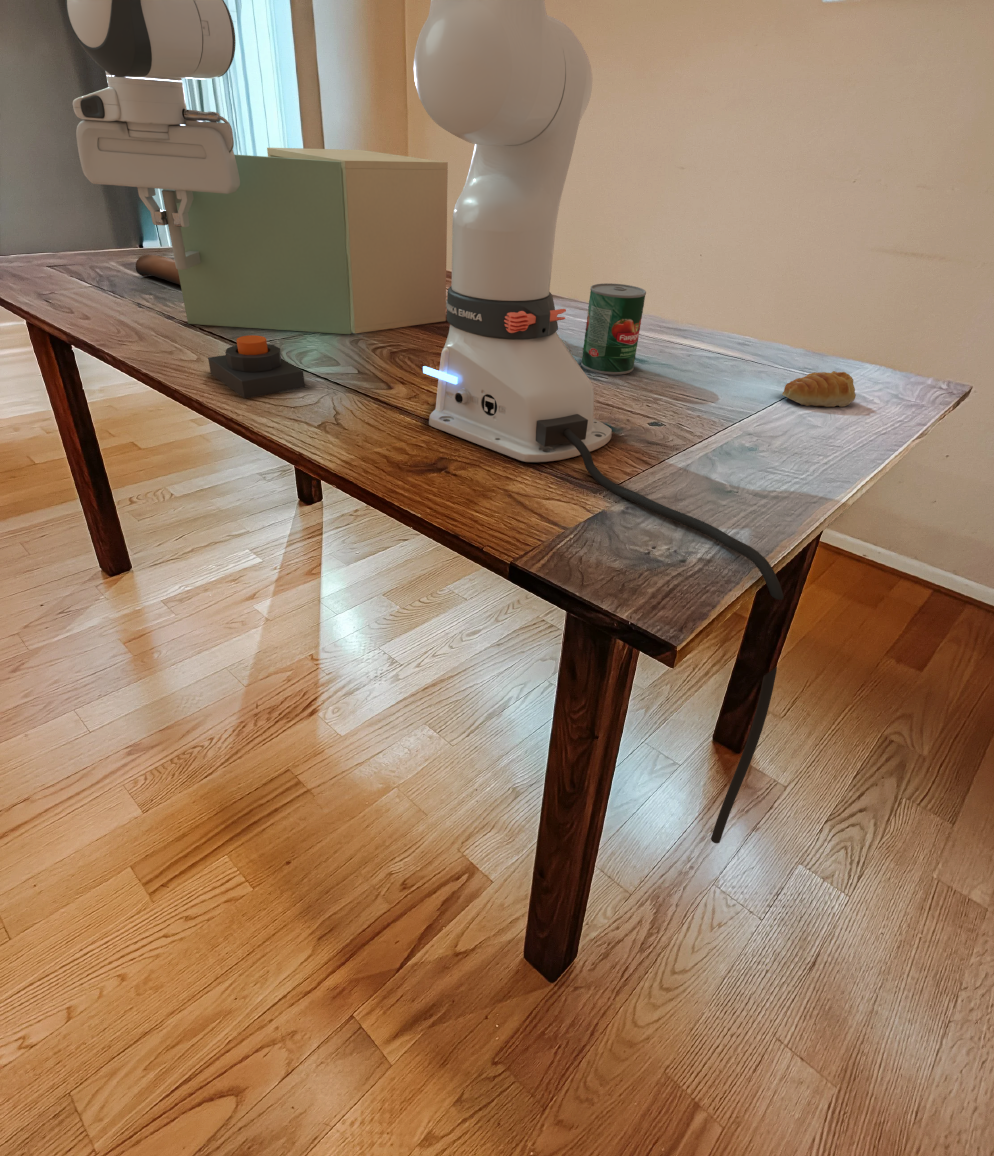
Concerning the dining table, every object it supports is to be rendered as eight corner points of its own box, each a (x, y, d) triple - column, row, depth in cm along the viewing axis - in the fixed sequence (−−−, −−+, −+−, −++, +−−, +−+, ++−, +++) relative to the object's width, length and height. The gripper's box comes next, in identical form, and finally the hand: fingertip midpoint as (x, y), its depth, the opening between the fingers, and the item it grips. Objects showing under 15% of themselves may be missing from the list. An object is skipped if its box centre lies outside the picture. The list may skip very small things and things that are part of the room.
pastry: (800, 410, 92) (809, 382, 90) (769, 394, 97) (776, 367, 95) (856, 406, 95) (866, 379, 93) (823, 390, 100) (831, 364, 98)
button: (272, 354, 88) (271, 340, 87) (245, 358, 86) (243, 344, 85) (261, 347, 90) (259, 334, 89) (233, 351, 88) (231, 337, 87)
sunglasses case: (226, 284, 133) (205, 253, 128) (201, 308, 131) (179, 278, 126) (175, 269, 142) (153, 240, 137) (151, 292, 140) (128, 263, 135)
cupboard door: (342, 344, 106) (330, 164, 92) (172, 333, 106) (135, 151, 92) (351, 332, 111) (341, 161, 98) (190, 322, 111) (158, 149, 98)
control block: (305, 388, 89) (301, 356, 87) (244, 399, 85) (239, 366, 82) (268, 365, 96) (264, 335, 94) (210, 374, 91) (205, 343, 89)
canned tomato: (629, 377, 100) (642, 297, 94) (576, 370, 102) (585, 291, 96) (636, 363, 106) (649, 287, 100) (586, 356, 108) (595, 281, 102)
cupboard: (355, 334, 111) (345, 160, 98) (283, 300, 127) (266, 147, 114) (445, 321, 121) (447, 162, 108) (368, 291, 137) (362, 150, 124)
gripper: (238, 113, 92) (252, 228, 100) (86, 101, 92) (112, 217, 100) (220, 112, 87) (237, 234, 95) (58, 100, 87) (88, 223, 95)
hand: (171, 225), depth 97 cm, fingers closed on cupboard door, 2 cm apart
